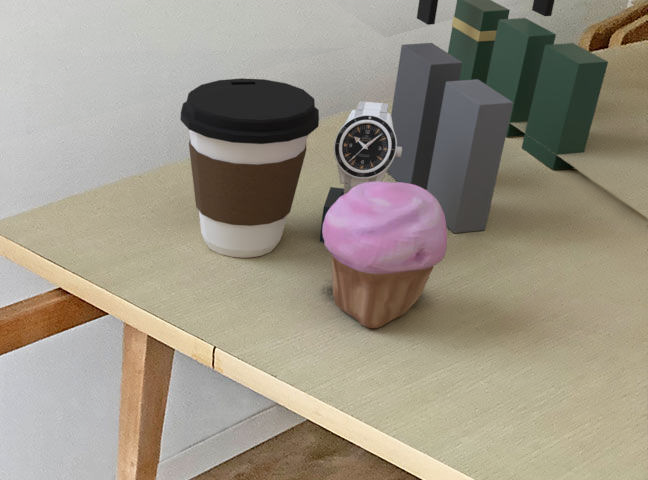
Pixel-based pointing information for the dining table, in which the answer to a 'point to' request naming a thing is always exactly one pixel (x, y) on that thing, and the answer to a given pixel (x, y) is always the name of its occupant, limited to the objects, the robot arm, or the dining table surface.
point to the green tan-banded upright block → (475, 36)
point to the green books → (546, 89)
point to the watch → (363, 150)
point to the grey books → (448, 134)
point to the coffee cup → (246, 159)
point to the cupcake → (383, 248)
